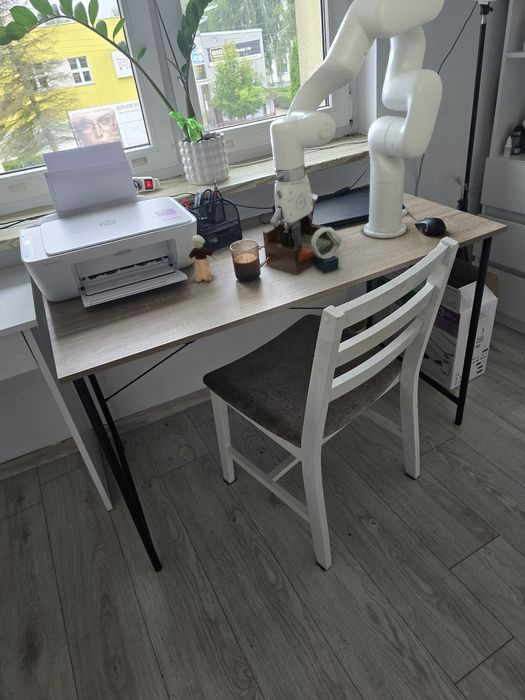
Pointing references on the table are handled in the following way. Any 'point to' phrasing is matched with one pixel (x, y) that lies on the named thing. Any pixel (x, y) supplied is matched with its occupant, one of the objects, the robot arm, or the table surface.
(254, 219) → the table surface
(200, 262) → the grandmother figurine
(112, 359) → the table surface
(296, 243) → the pepper pot
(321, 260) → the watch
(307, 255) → the sofa
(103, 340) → the table surface
